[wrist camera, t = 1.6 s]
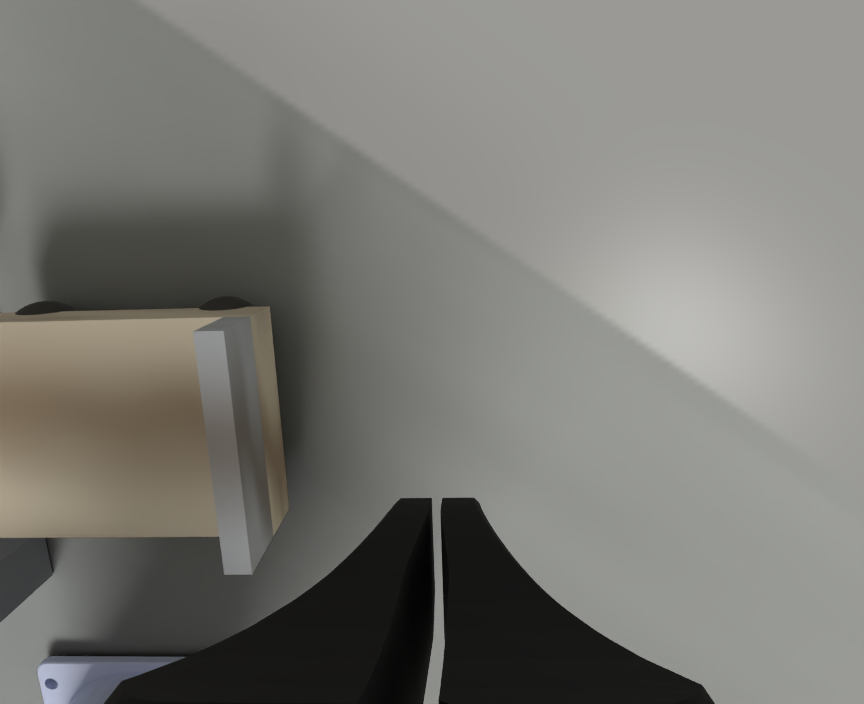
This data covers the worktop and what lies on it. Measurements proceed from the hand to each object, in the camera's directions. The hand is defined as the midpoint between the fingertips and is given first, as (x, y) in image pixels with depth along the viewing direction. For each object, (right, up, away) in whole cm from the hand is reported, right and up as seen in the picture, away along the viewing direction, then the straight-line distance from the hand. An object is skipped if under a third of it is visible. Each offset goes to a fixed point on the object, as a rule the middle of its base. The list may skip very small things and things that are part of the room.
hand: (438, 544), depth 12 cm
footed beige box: (-10, +2, +10) cm, 14 cm away
